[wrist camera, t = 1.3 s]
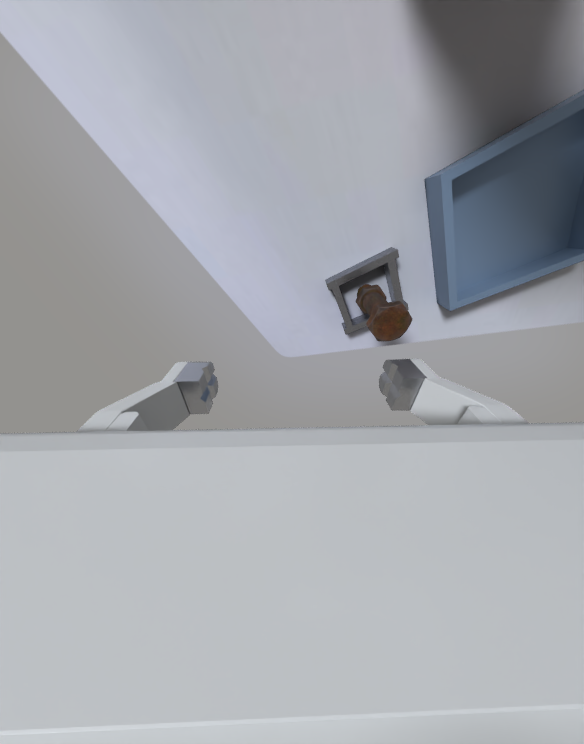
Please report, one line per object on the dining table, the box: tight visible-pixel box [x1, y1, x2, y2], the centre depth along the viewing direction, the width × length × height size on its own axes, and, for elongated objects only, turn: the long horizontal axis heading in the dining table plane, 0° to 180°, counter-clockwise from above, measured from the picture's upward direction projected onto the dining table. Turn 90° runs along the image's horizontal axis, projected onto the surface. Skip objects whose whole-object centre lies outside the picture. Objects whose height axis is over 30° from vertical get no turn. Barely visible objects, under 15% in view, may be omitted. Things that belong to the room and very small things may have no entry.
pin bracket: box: [325, 247, 408, 334], centre depth 39 cm, size 12×11×3 cm
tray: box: [425, 90, 584, 311], centre depth 31 cm, size 20×20×4 cm
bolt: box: [356, 284, 412, 341], centre depth 34 cm, size 6×5×15 cm
